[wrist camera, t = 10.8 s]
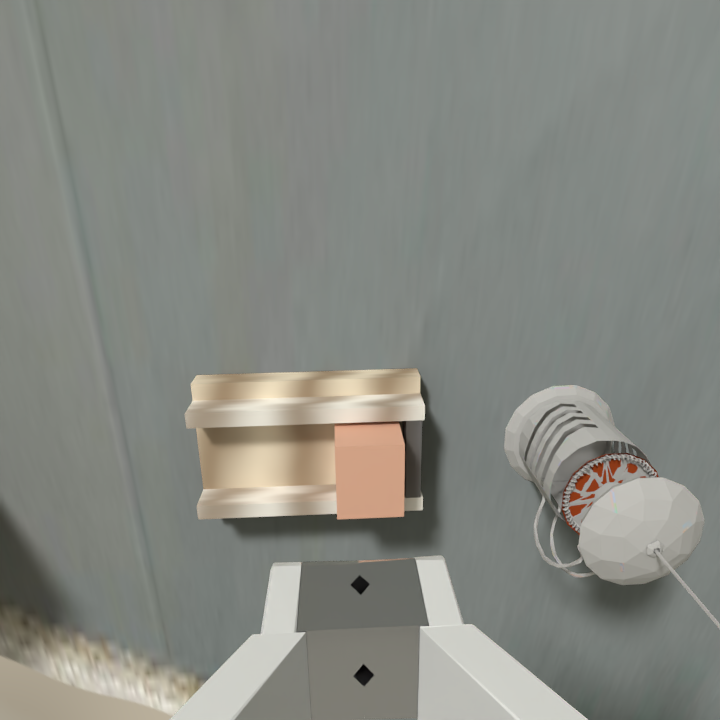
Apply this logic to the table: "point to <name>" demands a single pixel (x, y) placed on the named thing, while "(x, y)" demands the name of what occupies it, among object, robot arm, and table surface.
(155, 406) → the table surface
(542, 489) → the french press
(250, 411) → the chute
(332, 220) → the table surface
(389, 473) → the block
